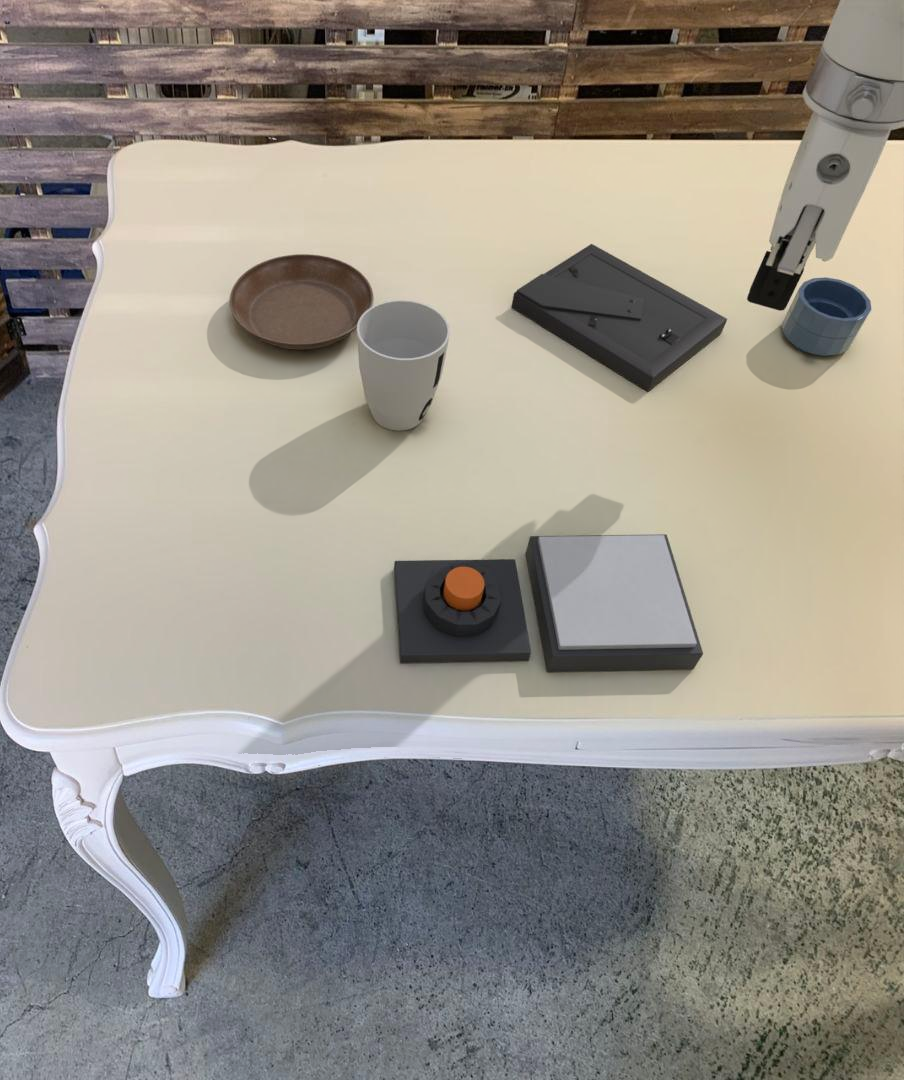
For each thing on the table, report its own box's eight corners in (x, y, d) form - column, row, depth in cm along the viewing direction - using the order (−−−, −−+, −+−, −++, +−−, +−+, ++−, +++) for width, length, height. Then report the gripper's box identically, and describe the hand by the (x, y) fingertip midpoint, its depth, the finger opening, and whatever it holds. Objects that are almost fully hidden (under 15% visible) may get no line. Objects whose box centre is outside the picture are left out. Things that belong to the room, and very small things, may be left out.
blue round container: (846, 323, 96) (868, 284, 92) (850, 365, 92) (874, 326, 88) (779, 311, 97) (798, 272, 93) (780, 352, 93) (800, 313, 89)
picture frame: (511, 307, 96) (647, 392, 89) (514, 290, 94) (654, 375, 87) (587, 258, 102) (722, 333, 94) (591, 240, 100) (729, 316, 93)
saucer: (209, 345, 91) (206, 324, 89) (262, 263, 100) (260, 241, 98) (347, 377, 89) (347, 356, 87) (389, 290, 98) (390, 268, 96)
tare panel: (512, 567, 75) (518, 545, 73) (528, 661, 70) (535, 640, 67) (393, 568, 75) (395, 547, 72) (400, 663, 69) (402, 643, 67)
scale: (658, 551, 76) (669, 529, 74) (693, 669, 69) (706, 649, 67) (525, 553, 76) (531, 531, 74) (546, 672, 69) (554, 652, 67)
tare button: (479, 579, 71) (482, 566, 70) (483, 610, 69) (486, 598, 68) (441, 579, 71) (443, 566, 70) (445, 611, 69) (447, 598, 68)
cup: (441, 443, 84) (451, 361, 76) (354, 441, 84) (355, 358, 76) (438, 384, 89) (448, 301, 81) (356, 381, 89) (358, 298, 81)
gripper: (915, 146, 57) (797, 367, 71) (932, 51, 65) (823, 266, 80) (794, 118, 59) (703, 339, 73) (826, 29, 67) (738, 243, 82)
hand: (766, 300), depth 77 cm, fingers closed
